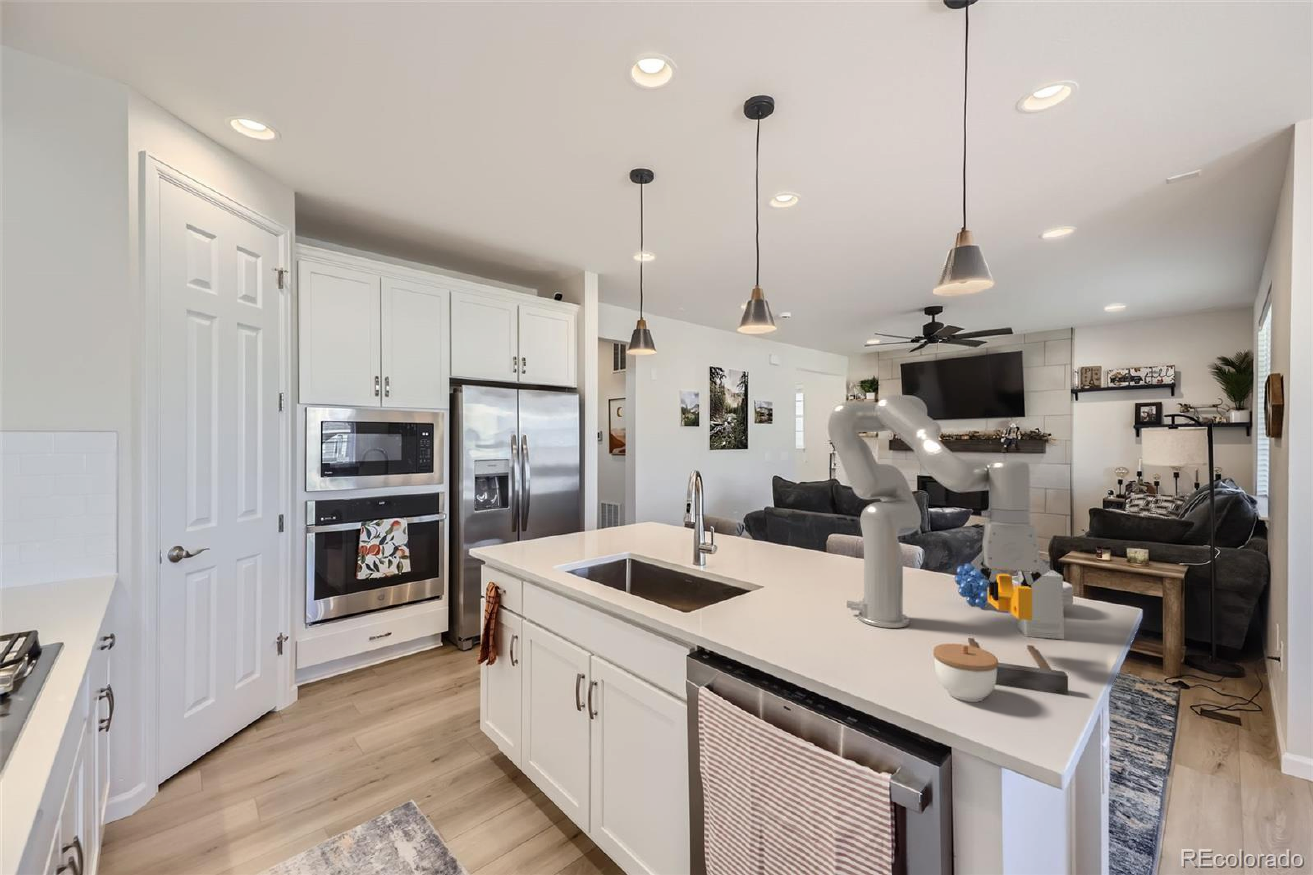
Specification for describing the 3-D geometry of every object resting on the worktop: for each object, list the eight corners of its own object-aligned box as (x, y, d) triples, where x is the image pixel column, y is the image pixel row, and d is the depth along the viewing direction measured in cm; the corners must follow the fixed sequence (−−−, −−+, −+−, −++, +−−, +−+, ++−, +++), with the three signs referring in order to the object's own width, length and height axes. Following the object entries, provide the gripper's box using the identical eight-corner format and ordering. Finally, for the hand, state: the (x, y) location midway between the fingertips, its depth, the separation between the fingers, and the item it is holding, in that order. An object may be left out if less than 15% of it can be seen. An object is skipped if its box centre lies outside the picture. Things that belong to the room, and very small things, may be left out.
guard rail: (980, 681, 110) (980, 664, 110) (965, 640, 132) (965, 626, 132) (1067, 694, 105) (1067, 676, 105) (1036, 649, 127) (1036, 634, 127)
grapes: (944, 601, 163) (944, 561, 163) (961, 599, 166) (961, 559, 166) (978, 613, 152) (978, 570, 152) (996, 611, 155) (996, 568, 155)
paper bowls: (1045, 600, 165) (1045, 573, 165) (1087, 617, 149) (1087, 587, 149) (996, 601, 164) (996, 574, 164) (1033, 618, 149) (1033, 588, 149)
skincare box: (1055, 631, 138) (1055, 569, 138) (1065, 641, 132) (1065, 576, 132) (1016, 628, 141) (1016, 567, 141) (1024, 637, 135) (1024, 573, 135)
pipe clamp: (987, 601, 127) (987, 573, 127) (1008, 602, 126) (1008, 574, 126) (1009, 618, 115) (1008, 588, 115) (1032, 620, 114) (1032, 589, 114)
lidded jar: (1003, 713, 98) (1003, 660, 98) (935, 701, 102) (935, 651, 102) (992, 687, 108) (992, 639, 108) (931, 678, 112) (931, 632, 112)
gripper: (967, 517, 120) (968, 601, 120) (1061, 521, 113) (1062, 609, 113) (962, 513, 127) (962, 592, 127) (1050, 516, 120) (1051, 599, 120)
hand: (1009, 599), depth 120 cm, fingers closed on pipe clamp, 4 cm apart
